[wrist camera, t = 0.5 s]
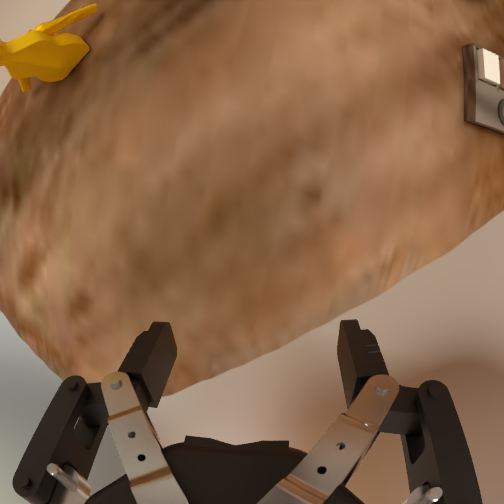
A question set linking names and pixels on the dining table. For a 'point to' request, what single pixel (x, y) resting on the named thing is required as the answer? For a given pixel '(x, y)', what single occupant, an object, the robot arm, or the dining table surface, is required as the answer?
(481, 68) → the cream key
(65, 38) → the figure statuette
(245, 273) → the dining table surface
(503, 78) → the terracotta key
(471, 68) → the key console
